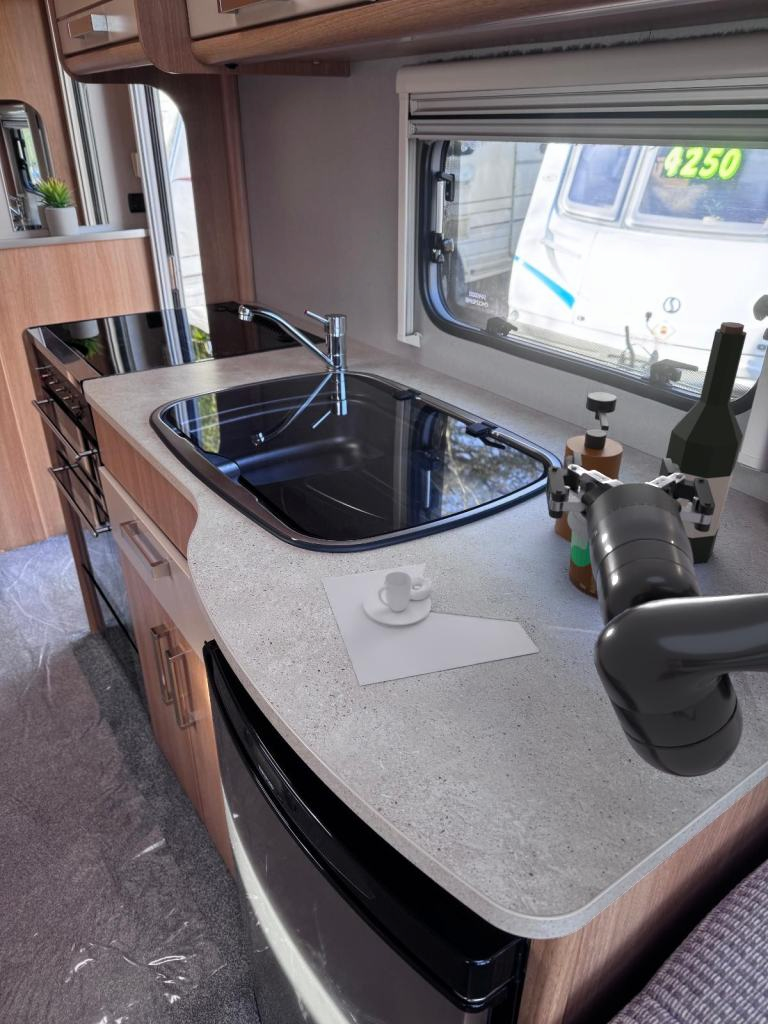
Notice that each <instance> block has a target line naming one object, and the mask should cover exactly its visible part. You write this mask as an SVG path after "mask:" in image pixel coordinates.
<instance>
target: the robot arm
mask: <svg viewBox="0 0 768 1024" xmlns="http://www.w3.org/2000/svg"><path fill="white" fill-rule="evenodd" d="M546 476H547V477H546V483H545V497H546V503H547V510H548V516H549V517H550V518H552V519H555V520H556V519H560V518H562V517H563V512H566V511H573V512H580V514H581V515H582V516H583V517H584V518H585V519H586V521H587V531H588V540H589V550H590V559H591V567H592V572H593V575H594V578H595V581H596V584H597V593H598V599H597V600H598V607H599V613H600V617H601V620H602V623H603V628H602V629H601V631H600V632H599V633H598V635H597V638H596V640H595V642H594V647H593V663H594V667H595V670H596V672H597V675H598V678H599V679H600V683H601V684H602V686H603V688H604V690H605V693H606V694H607V696H608V699H609V701H610V704H611V706H612V708H613V711H614V713H615V715H616V717H617V720H618V723H619V724H620V727H621V729H622V731H623V733H624V736H625V737H626V740H627V742H628V743H629V745H630V746H631V748H632V749H633V750H634V752H635V753H636V755H637V756H638V757H640V758H641V759H642V760H643V761H644V762H645V763H646V764H648V765H649V766H650V767H652V768H654V769H656V770H657V771H660V772H661V773H665V774H667V775H670V776H674V777H681V778H696V777H702V776H705V775H708V774H711V773H713V772H715V771H717V770H718V769H720V768H721V767H723V766H724V765H725V764H726V763H727V762H728V761H729V760H730V759H731V758H732V756H734V753H735V752H736V751H737V748H738V746H739V744H740V742H741V739H742V735H743V731H744V717H743V711H742V707H741V706H742V705H741V704H740V701H739V698H738V694H737V692H736V690H735V688H734V685H733V682H732V678H731V676H730V674H731V673H740V672H741V673H745V672H748V673H749V672H750V673H751V672H752V673H754V672H755V673H756V672H757V673H768V590H761V591H745V592H734V593H723V594H711V595H703V592H702V589H701V585H700V581H699V579H698V575H697V572H696V570H695V567H694V566H695V564H694V561H693V554H692V547H691V542H690V540H689V539H688V537H687V534H686V531H685V529H684V526H683V523H682V521H685V522H689V523H694V528H695V529H696V530H698V531H700V532H708V531H709V529H710V525H711V521H712V517H713V513H714V509H715V502H714V499H713V496H712V493H711V489H710V486H709V483H708V480H707V479H704V478H700V477H697V478H694V481H691V480H687V479H686V476H685V475H684V474H682V473H681V471H680V468H679V466H678V465H677V464H674V463H672V461H671V459H669V458H666V457H662V459H661V463H660V469H659V474H658V477H656V479H653V480H651V481H649V482H647V481H646V482H639V481H629V482H627V481H622V480H619V479H618V480H611V479H610V478H608V477H606V476H604V475H603V474H601V473H599V472H597V471H596V470H593V471H589V472H588V471H587V470H585V469H583V468H582V460H581V452H575V451H573V456H567V457H566V462H565V469H564V470H562V468H561V467H560V466H558V465H551V466H548V468H547V475H546ZM580 482H581V484H580ZM579 484H580V486H579ZM596 485H597V487H596ZM681 498H682V499H687V500H689V503H688V504H687V506H686V507H681V504H680V503H679V501H681Z"/></svg>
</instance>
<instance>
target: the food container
mask: <svg viewBox="0 0 768 1024" xmlns="http://www.w3.org/2000/svg"><path fill="white" fill-rule="evenodd" d="M567 521H568V524H569V527H570V528H571V529H572V538H571V542H570V554H569V555H570V556H569V568H568V569H569V570H568V578H569V580H570V582H571V584H572V585H573V586H574V587H575V589H577V590H578V591H580V592H581V593H583V594H584V595H586V596H589V597H591V598H594V599H597V600H598V593H597V584H596V581H595V578H594V575H593V572H592V567H591V559H590V550H589V540H588V531H587V521H586V519H585V518H584V517H583V516H582V515H581V514H580V512H573V511H570V512H569V515H568V518H567Z"/></svg>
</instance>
